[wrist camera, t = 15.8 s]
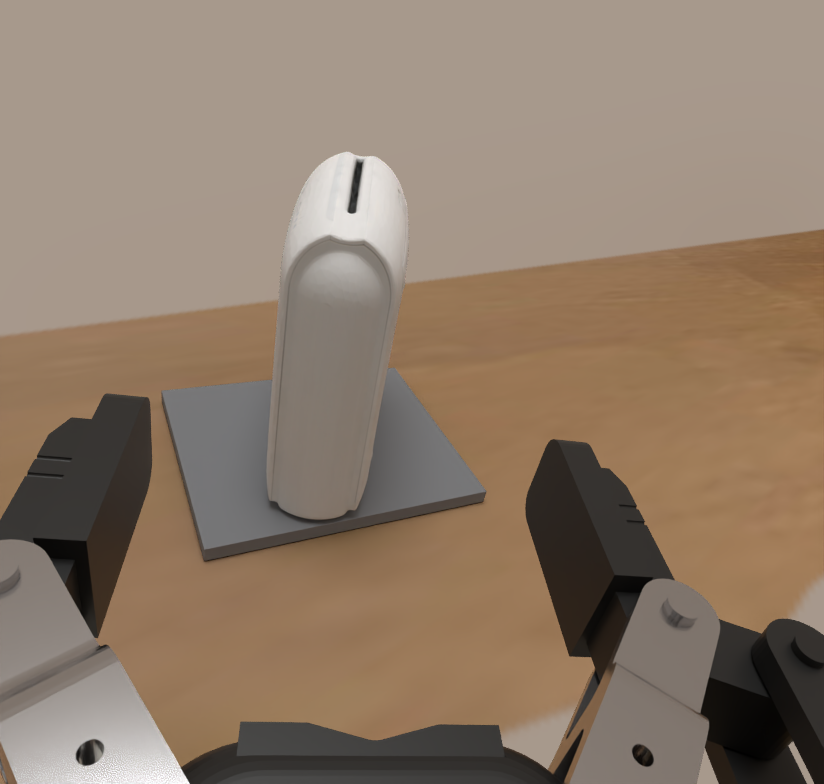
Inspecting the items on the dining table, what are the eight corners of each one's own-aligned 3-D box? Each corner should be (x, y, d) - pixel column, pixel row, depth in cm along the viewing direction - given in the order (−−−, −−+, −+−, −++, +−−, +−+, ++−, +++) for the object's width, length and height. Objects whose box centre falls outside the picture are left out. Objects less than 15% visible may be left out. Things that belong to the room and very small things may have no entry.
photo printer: (289, 373, 34) (312, 120, 27) (372, 384, 34) (416, 140, 27) (252, 518, 25) (272, 202, 18) (364, 531, 26) (424, 228, 19)
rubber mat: (204, 560, 24) (204, 549, 23) (161, 401, 31) (161, 390, 31) (483, 501, 29) (486, 491, 29) (392, 376, 36) (394, 367, 36)
